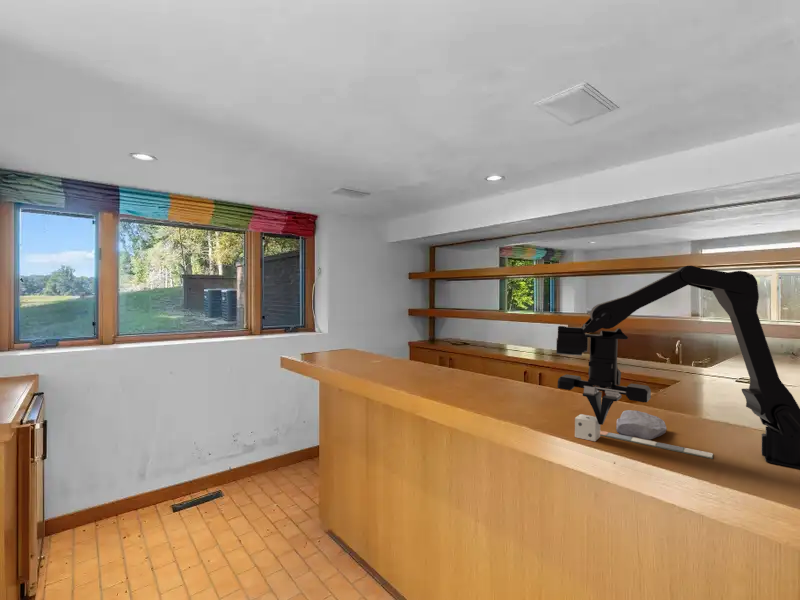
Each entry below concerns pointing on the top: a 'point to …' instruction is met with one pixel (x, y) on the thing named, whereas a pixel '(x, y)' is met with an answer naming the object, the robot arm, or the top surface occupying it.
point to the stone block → (640, 425)
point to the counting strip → (658, 444)
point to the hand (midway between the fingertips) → (601, 424)
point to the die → (587, 427)
